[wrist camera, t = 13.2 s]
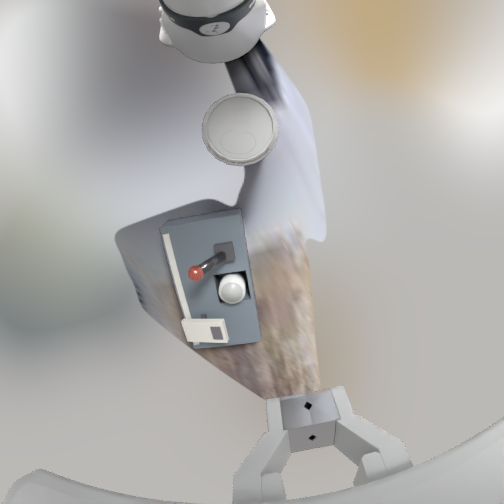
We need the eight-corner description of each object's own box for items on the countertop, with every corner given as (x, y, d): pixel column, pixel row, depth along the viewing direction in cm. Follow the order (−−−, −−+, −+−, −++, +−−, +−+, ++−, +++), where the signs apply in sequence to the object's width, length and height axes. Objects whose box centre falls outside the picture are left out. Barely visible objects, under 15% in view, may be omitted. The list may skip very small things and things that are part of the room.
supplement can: (265, 165, 42) (275, 170, 28) (212, 160, 42) (195, 162, 28) (271, 115, 40) (284, 95, 26) (218, 109, 39) (204, 87, 25)
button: (218, 272, 45) (216, 282, 41) (243, 268, 45) (242, 278, 41) (223, 294, 46) (221, 305, 43) (247, 291, 46) (247, 302, 42)
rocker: (183, 318, 44) (180, 322, 43) (223, 318, 43) (221, 322, 42) (189, 338, 46) (187, 342, 45) (229, 339, 44) (227, 343, 43)
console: (167, 220, 45) (157, 230, 39) (240, 207, 45) (239, 215, 39) (197, 332, 52) (193, 352, 46) (260, 325, 52) (261, 344, 46)
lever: (217, 247, 40) (182, 268, 34) (228, 247, 39) (194, 269, 33) (220, 260, 41) (186, 283, 35) (231, 261, 40) (198, 284, 34)
